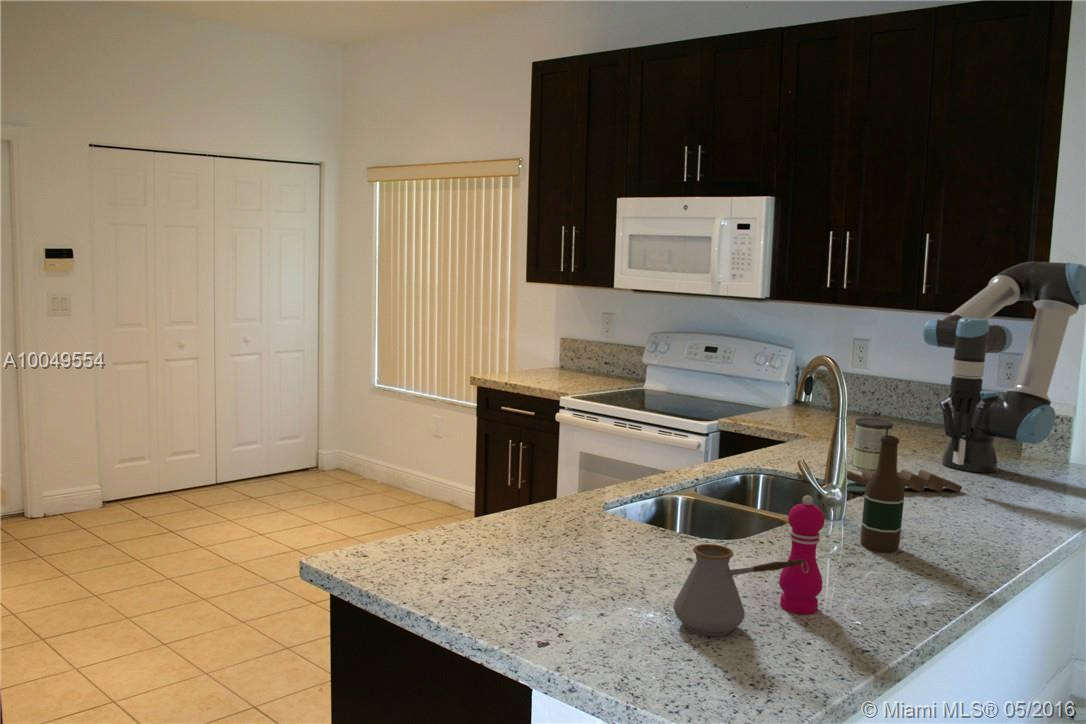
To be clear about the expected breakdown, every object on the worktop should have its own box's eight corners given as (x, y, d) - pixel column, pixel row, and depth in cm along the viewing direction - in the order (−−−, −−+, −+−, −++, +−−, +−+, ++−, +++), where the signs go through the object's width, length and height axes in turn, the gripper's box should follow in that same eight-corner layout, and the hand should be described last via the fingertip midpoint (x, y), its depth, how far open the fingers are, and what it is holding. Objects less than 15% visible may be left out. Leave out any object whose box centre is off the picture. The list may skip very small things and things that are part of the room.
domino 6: (951, 481, 248) (920, 469, 246) (962, 486, 243) (930, 473, 241) (948, 487, 248) (917, 475, 246) (959, 492, 243) (927, 480, 241)
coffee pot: (659, 627, 147) (665, 537, 145) (692, 606, 156) (698, 522, 155) (785, 668, 135) (794, 570, 133) (813, 643, 144) (821, 551, 142)
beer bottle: (898, 544, 196) (909, 435, 193) (899, 555, 189) (911, 442, 186) (859, 539, 198) (870, 431, 195) (859, 549, 191) (870, 437, 188)
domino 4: (915, 481, 246) (883, 468, 245) (924, 486, 241) (892, 473, 240) (912, 487, 246) (880, 475, 245) (922, 492, 241) (889, 479, 240)
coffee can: (847, 463, 271) (851, 417, 269) (883, 466, 270) (887, 419, 268) (855, 472, 261) (860, 423, 259) (892, 474, 260) (897, 426, 258)
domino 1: (872, 479, 245) (839, 467, 243) (881, 484, 240) (847, 472, 238) (870, 485, 245) (837, 473, 243) (879, 490, 240) (845, 478, 238)
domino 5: (933, 481, 247) (901, 469, 245) (943, 486, 242) (911, 473, 240) (930, 487, 247) (899, 475, 245) (940, 492, 242) (908, 480, 240)
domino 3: (895, 481, 246) (863, 468, 244) (905, 486, 241) (872, 473, 239) (893, 487, 246) (861, 474, 244) (902, 492, 241) (870, 479, 239)
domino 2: (860, 481, 245) (824, 481, 243) (868, 486, 240) (832, 486, 238) (859, 488, 245) (823, 487, 244) (868, 493, 240) (832, 493, 239)
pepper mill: (771, 599, 162) (780, 489, 159) (810, 599, 162) (820, 490, 160) (785, 615, 154) (795, 501, 152) (826, 616, 155) (837, 502, 152)
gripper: (981, 375, 246) (972, 460, 249) (936, 373, 244) (927, 459, 247) (998, 379, 238) (988, 467, 241) (952, 377, 237) (942, 466, 240)
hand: (957, 463), depth 244 cm, fingers closed
